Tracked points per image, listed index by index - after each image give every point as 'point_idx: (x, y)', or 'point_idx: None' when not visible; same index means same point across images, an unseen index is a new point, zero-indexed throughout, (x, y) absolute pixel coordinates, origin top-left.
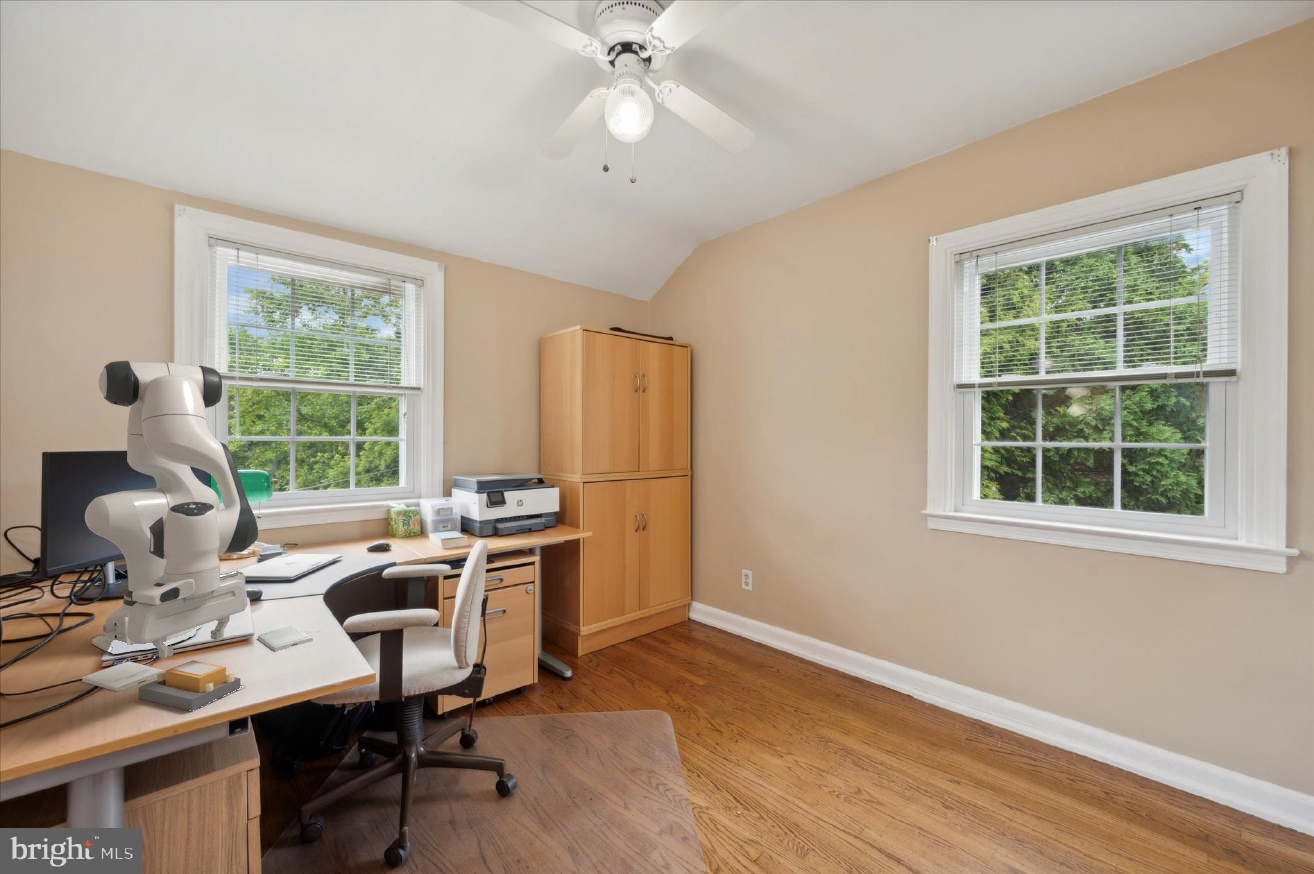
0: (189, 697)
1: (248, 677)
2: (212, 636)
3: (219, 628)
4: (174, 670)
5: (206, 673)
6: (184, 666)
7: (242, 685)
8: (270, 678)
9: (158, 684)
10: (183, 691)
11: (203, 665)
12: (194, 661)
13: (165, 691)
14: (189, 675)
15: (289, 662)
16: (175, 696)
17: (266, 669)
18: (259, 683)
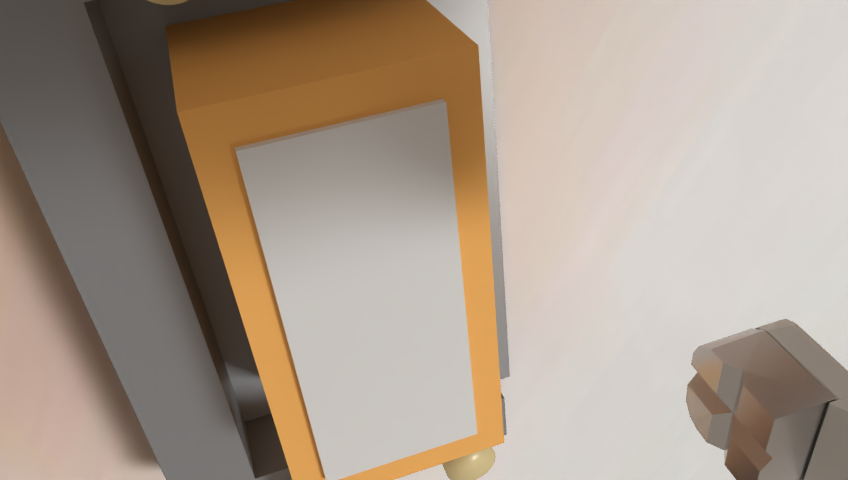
0: None
1: (603, 243)
2: (716, 386)
3: (836, 470)
4: (241, 195)
5: (371, 463)
6: (341, 188)
7: (506, 359)
8: (630, 354)
9: (101, 61)
10: (202, 389)
11: (441, 308)
12: (466, 105)
13: (104, 292)
14: (278, 415)
15: (825, 219)
16: (137, 414)
17: (719, 210)
18: (566, 374)
